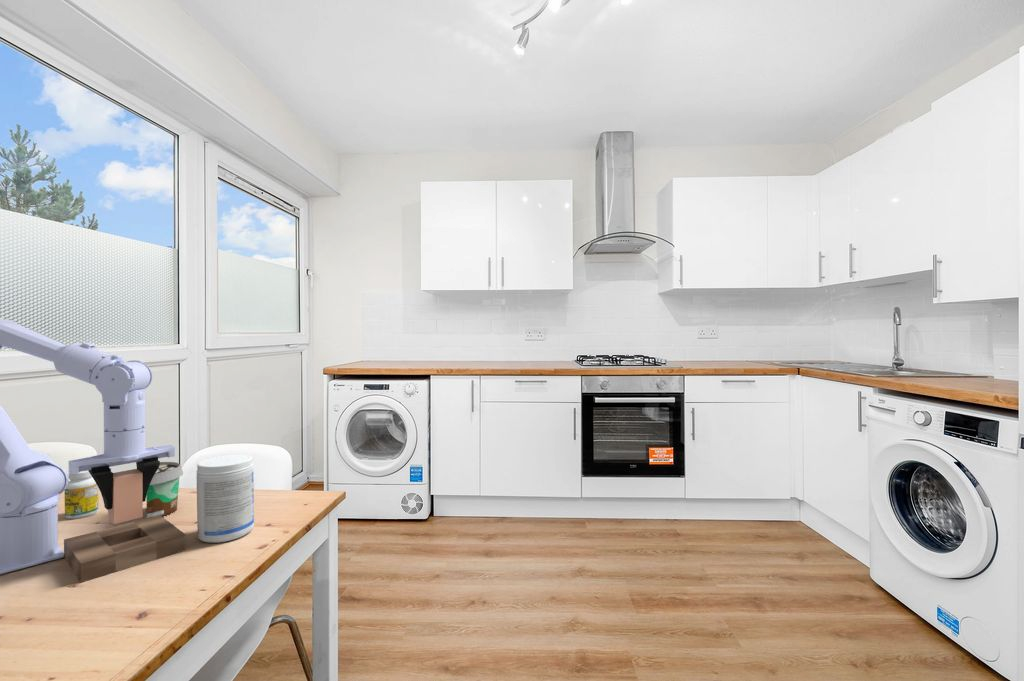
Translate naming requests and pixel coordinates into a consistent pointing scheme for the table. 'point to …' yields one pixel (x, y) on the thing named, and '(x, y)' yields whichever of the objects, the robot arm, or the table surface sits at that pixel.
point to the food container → (164, 490)
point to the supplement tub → (225, 498)
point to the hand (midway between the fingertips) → (125, 504)
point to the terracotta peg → (126, 496)
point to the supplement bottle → (81, 496)
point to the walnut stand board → (122, 547)
